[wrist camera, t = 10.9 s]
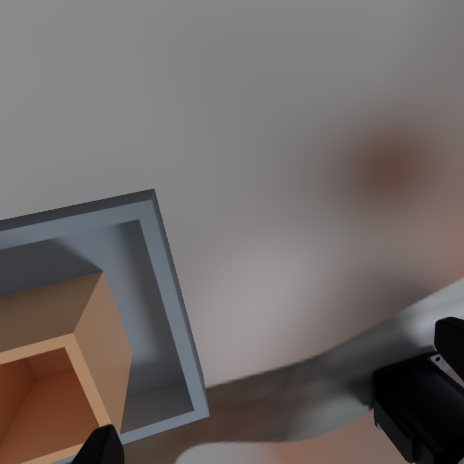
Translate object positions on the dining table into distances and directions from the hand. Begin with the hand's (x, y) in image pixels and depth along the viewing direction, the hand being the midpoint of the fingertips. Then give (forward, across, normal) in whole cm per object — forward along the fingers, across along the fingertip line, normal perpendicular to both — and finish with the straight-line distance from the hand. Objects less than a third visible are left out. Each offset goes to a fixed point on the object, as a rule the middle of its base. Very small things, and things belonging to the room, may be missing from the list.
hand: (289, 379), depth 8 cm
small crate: (+11, +10, +3) cm, 15 cm away
